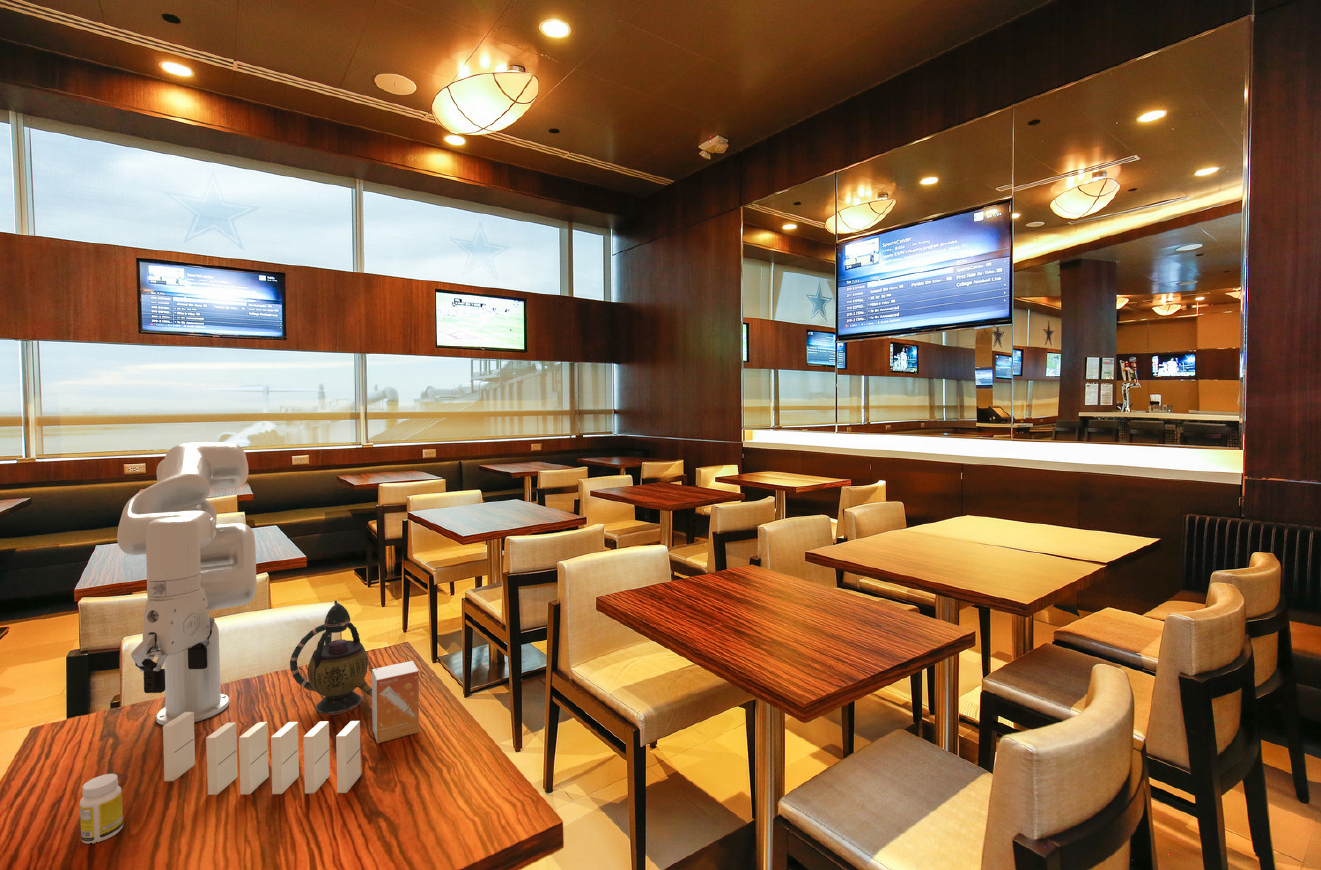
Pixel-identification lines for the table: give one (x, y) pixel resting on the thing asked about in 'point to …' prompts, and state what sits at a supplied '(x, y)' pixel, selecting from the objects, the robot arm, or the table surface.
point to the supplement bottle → (101, 809)
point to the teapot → (334, 665)
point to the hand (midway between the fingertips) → (177, 679)
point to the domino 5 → (316, 756)
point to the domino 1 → (178, 746)
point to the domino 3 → (253, 757)
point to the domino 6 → (348, 756)
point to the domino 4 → (284, 757)
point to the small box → (395, 701)
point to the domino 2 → (221, 758)
